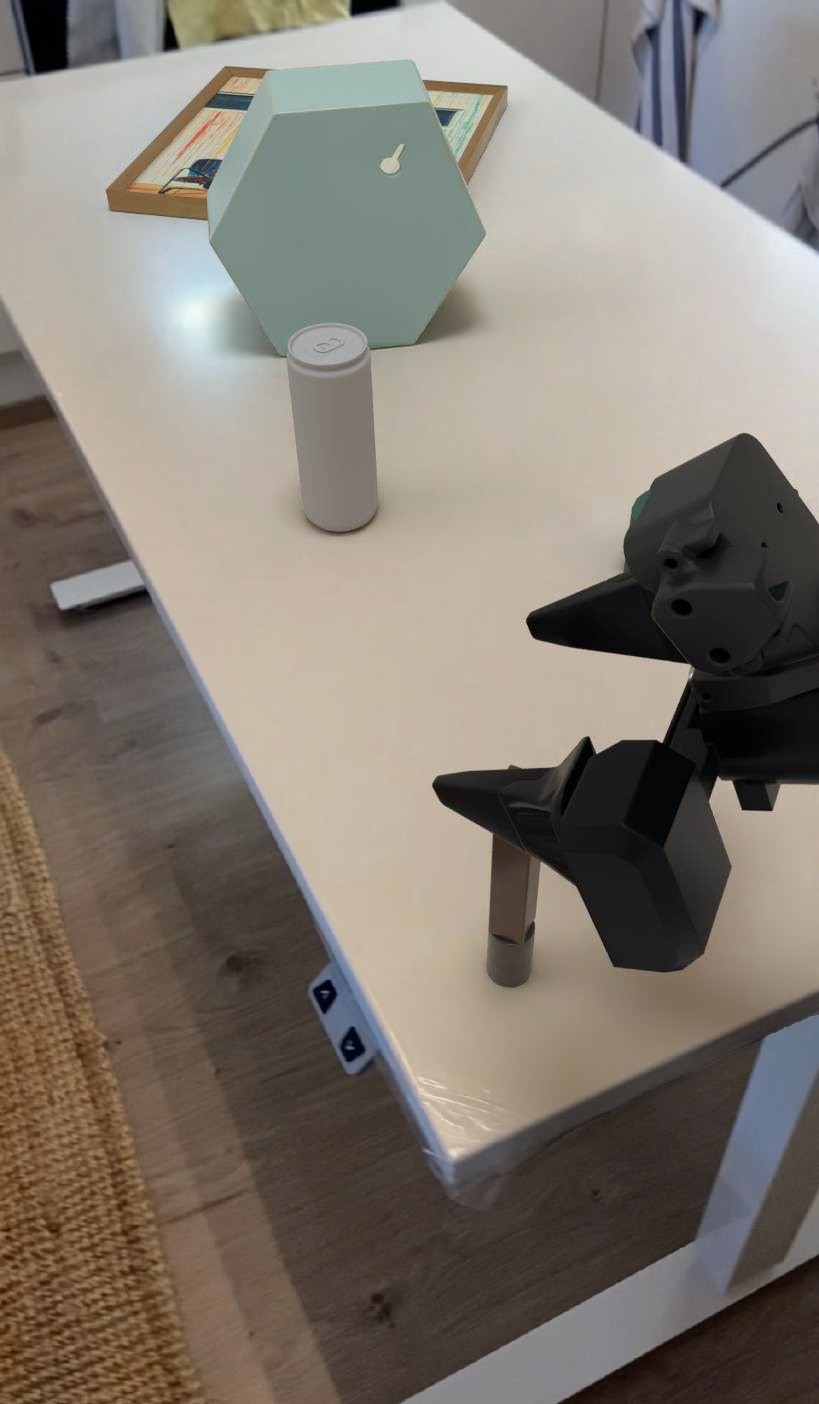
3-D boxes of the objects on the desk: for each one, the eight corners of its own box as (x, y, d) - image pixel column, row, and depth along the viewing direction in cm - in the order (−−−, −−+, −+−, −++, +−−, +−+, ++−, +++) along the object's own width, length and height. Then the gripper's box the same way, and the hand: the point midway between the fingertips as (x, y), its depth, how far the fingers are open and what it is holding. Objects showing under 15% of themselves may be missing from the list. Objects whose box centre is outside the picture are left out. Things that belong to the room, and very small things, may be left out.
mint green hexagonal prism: (366, 349, 98) (509, 120, 86) (378, 401, 93) (532, 165, 81) (174, 257, 90) (304, -9, 78) (175, 308, 85) (314, 30, 73)
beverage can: (288, 510, 76) (268, 341, 68) (348, 479, 78) (335, 312, 70) (334, 546, 74) (319, 376, 65) (394, 514, 76) (387, 344, 67)
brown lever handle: (537, 957, 54) (556, 774, 44) (521, 993, 53) (537, 813, 43) (496, 941, 54) (506, 757, 45) (479, 977, 53) (486, 795, 44)
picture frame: (105, 189, 105) (224, 65, 125) (109, 210, 107) (227, 84, 126) (438, 220, 100) (507, 85, 119) (438, 242, 101) (507, 105, 121)
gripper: (941, 297, 37) (503, 384, 46) (827, 688, 25) (266, 705, 34) (986, 586, 43) (591, 615, 52) (911, 1012, 31) (415, 955, 40)
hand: (486, 702), depth 44 cm, fingers open, 9 cm apart
